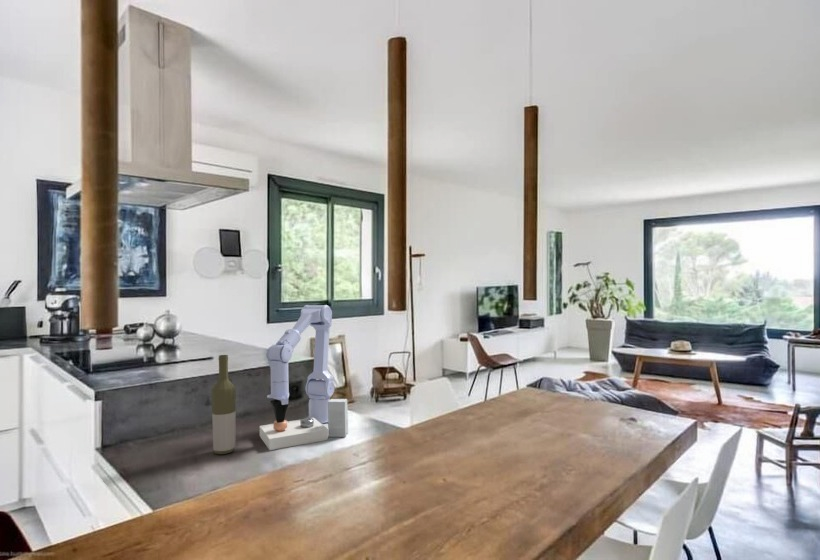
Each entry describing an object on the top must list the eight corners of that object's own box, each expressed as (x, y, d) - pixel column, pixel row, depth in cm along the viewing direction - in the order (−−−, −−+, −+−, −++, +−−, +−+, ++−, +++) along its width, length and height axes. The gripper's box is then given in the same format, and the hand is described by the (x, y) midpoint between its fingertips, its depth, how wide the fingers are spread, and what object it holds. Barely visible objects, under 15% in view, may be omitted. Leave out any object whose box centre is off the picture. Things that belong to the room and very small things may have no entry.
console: (259, 436, 158) (259, 425, 158) (313, 427, 167) (313, 417, 168) (269, 450, 144) (269, 439, 144) (328, 439, 153) (327, 429, 154)
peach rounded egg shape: (272, 436, 154) (272, 421, 154) (285, 434, 156) (285, 419, 156) (275, 440, 150) (275, 424, 150) (288, 438, 152) (288, 422, 152)
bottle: (207, 456, 140) (206, 357, 141) (218, 447, 147) (217, 353, 148) (230, 456, 140) (229, 357, 140) (240, 447, 147) (239, 353, 147)
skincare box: (348, 433, 160) (347, 398, 160) (345, 437, 155) (344, 401, 156) (331, 433, 160) (330, 398, 160) (327, 437, 156) (327, 401, 156)
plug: (299, 434, 158) (298, 419, 158) (311, 432, 160) (311, 417, 160) (302, 438, 154) (302, 422, 154) (315, 436, 156) (315, 420, 156)
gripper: (262, 378, 158) (263, 418, 157) (272, 386, 145) (272, 429, 145) (283, 376, 161) (284, 415, 161) (294, 383, 148) (295, 426, 148)
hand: (280, 421), depth 153 cm, fingers closed, pressing on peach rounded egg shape
